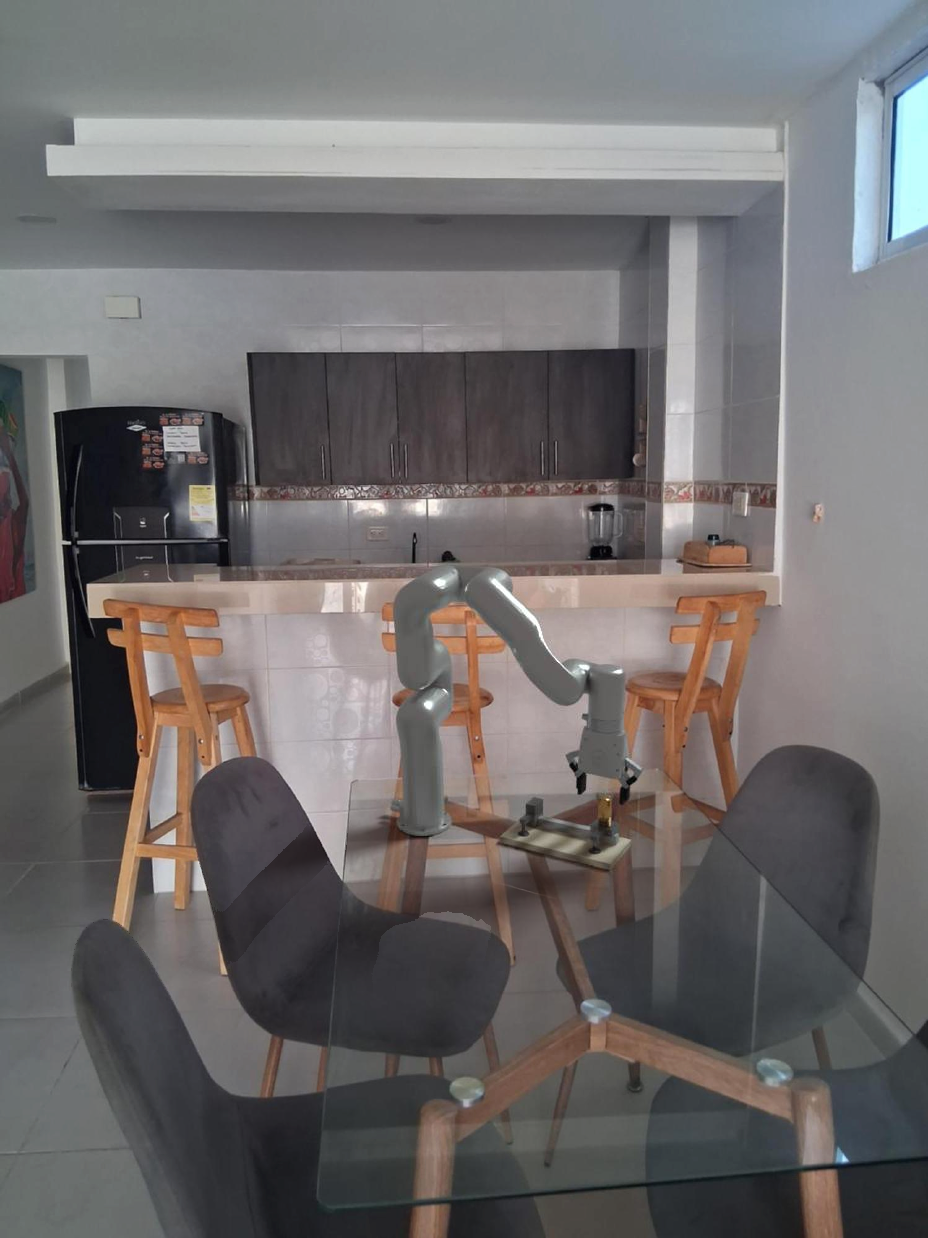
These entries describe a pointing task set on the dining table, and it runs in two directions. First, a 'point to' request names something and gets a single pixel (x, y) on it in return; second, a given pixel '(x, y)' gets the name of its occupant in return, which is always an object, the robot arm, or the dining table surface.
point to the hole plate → (563, 839)
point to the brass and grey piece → (603, 821)
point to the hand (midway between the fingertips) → (602, 797)
